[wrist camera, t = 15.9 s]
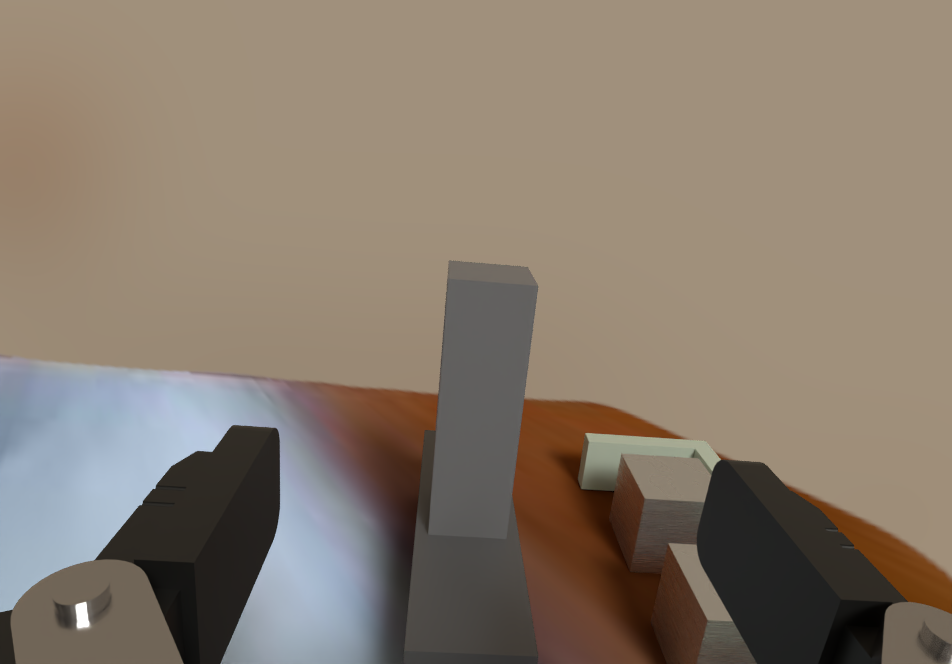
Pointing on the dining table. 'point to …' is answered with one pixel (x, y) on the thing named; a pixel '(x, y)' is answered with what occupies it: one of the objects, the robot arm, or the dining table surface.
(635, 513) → the grey cube block
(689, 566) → the beige cube
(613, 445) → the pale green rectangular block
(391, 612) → the dining table surface
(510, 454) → the gray t-shaped block
